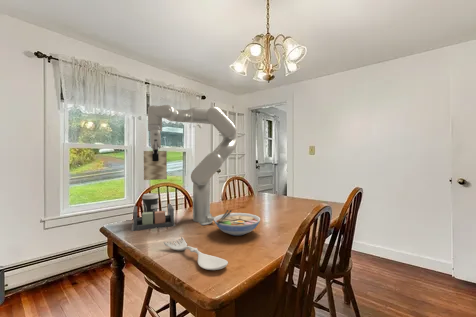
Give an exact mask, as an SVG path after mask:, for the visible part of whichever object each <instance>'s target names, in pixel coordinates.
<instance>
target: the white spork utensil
mask: <svg viewBox="0 0 476 317" xmlns="http://www.w3.org/2000/svg"><path fill="white" fill-rule="evenodd" d="M163 245H164V246H166V247H168V248H170V249H171V250H174V251H181V252H182V251H185V250H189V252H191V253H196V255H197V264H198V266H199V268H202V269H205V270H208V271H216V270H217V271H218V270H222V269H225V267H227V266H228V264H229V262H228V260H226V259H224V258H221V257H218V256H215V255H210V254H206V253H203V252H201V251H200V250H198V247H192V246H189V245H188V243H187V242H186V240H185V239H184V237H183V236H181V237H180V238H178V239H176V241H173V243H172V242H171V241H169V242H168V241H166V242H165V241H163Z"/></svg>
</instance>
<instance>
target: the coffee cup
mask: <svg viewBox="0 0 476 317" xmlns="http://www.w3.org/2000/svg"><path fill="white" fill-rule="evenodd" d="M159 198H160V196H159V195H158V193H156V192H154V193H153V192H151V193H150V192H149V193H144V194H142V197H141V199H142V203H143V204H142V205H143V213H144V212H153V217H154V216H155V212H156V211H158V204H159V202H158V201H159Z"/></svg>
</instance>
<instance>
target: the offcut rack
mask: <svg viewBox="0 0 476 317" xmlns="http://www.w3.org/2000/svg"><path fill="white" fill-rule="evenodd" d="M174 212H175V211H174V207H173V205H172V203H167V214H165V223H157V224H155V216H154V217H153V224H148V225H142V217H138V206H133V214H132V216H133V218H132V219H133V220H132V221H133V222H132V224H131V229H130V230H131V232H136V231H145V230H154V229H163V228H171V227H177V225H176V223H175V219H174V218H175V216H174V215H175V213H174Z"/></svg>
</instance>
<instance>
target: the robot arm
mask: <svg viewBox="0 0 476 317" xmlns="http://www.w3.org/2000/svg"><path fill="white" fill-rule="evenodd" d="M163 119H166V120H168V121H170V122H175V123H176V122H178V123H190V124H191V123H194V124H205V125H213V127H214V128H215V129H216V130H217V131H218V132H219V133H220V134H221V136H222V141H221V142H220V143H219V144H218V145H217V147H216V148H215V149H214V150H213V151H212V152H210V153H208V154H207V155H206V156H205V157H204V158H203V159H202V160H201V161H200V162H199V163H198V164H197V165H196V167H195V168H193V170H192V171H191V174H190V180H191V182H192V222H195V223H199V225H200V226H206V225H210V224H212V223H213V222H214V217H215V216H213V215H212V213H211V178H212V177H213V176H214V175H215V174H216V173H217V172H218V171H219V169H221V167H222V165H223V164H224V162H225V161H226V160H228V158H229V156H231V155H232V153H233V152H234V150H235V149H236V147H237V143H238V135H237V134H238V133H237V127H236V125H235V124H234V123H233V121H231V120H230V118H228V116H227V115H226V114H225V113H224V112H223V111H222V110H221V109H220V108H219V107H217V106H211V107H209V108H203V107H191V108H189V109H179V108H175V107H173V106H172V105H169V104H163V105H149V106H148V108H147V132H149V134H150V137H149V138H150V139H149V140H150V148H151V150H152V151H153V154H152V161H159V154H158V151H159V150H160V149H161V148H162V138H161V132H163Z"/></svg>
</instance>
